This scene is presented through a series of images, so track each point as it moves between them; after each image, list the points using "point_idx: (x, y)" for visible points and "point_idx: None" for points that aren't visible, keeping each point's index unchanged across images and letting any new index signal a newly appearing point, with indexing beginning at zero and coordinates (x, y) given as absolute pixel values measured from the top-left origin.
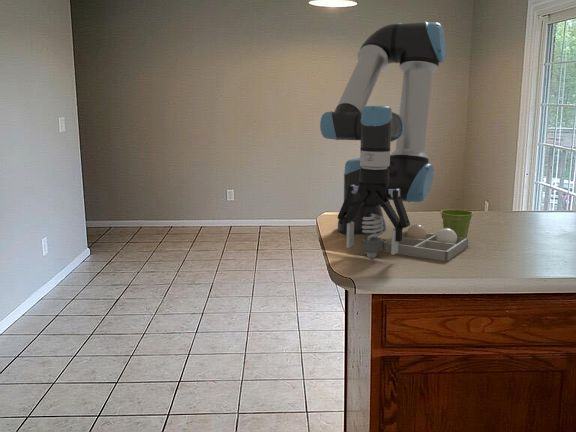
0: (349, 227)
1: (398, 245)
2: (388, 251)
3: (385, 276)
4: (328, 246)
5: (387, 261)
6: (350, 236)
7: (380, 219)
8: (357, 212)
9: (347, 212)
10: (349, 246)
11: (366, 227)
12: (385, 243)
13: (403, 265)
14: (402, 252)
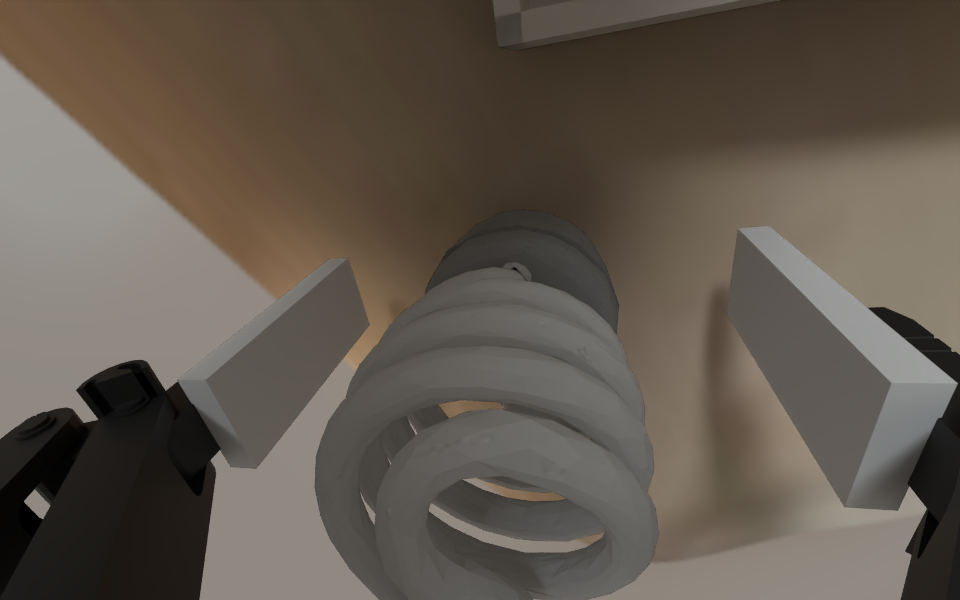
0: (280, 437)
1: (707, 7)
2: (574, 37)
3: (763, 490)
4: (129, 158)
5: (659, 241)
6: (322, 355)
7: (633, 574)
8: (128, 507)
9: (13, 474)
10: (364, 323)
11: (490, 524)
12: (532, 40)
13: (815, 264)
14: (742, 5)
